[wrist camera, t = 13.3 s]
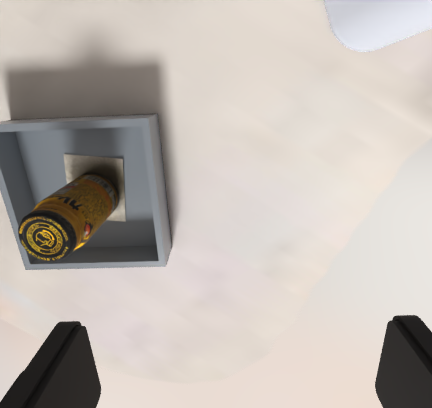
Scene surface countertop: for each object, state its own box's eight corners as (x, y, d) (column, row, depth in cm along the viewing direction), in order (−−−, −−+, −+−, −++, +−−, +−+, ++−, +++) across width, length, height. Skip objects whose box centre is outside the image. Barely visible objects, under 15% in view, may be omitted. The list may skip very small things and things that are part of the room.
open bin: (10, 120, 37) (-21, 125, 32) (157, 113, 36) (148, 118, 32) (46, 250, 43) (25, 269, 39) (172, 246, 43) (165, 266, 38)
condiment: (71, 216, 40) (13, 267, 29) (64, 153, 37) (-5, 183, 26) (126, 220, 40) (89, 273, 29) (123, 158, 37) (80, 189, 26)
